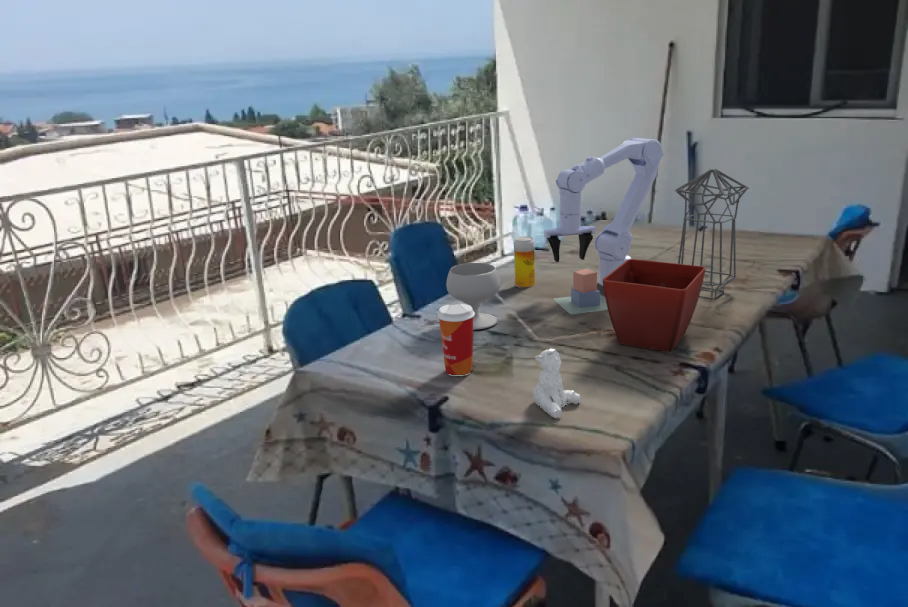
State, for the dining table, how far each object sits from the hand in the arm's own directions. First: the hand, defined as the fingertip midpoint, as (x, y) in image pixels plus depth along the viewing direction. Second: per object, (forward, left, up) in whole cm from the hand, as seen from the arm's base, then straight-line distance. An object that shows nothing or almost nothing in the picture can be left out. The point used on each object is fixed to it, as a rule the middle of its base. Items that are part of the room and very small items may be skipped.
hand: (569, 260), depth 203 cm
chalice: (+32, +13, -11) cm, 36 cm away
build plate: (0, +11, -10) cm, 15 cm away
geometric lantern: (-36, +12, -11) cm, 40 cm away
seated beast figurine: (+29, +64, -11) cm, 71 cm away
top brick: (0, +11, -6) cm, 12 cm away
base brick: (0, +11, -10) cm, 15 cm away
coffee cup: (+43, +42, -11) cm, 61 cm away
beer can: (+10, -12, -11) cm, 19 cm away
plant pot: (-6, +39, -11) cm, 41 cm away
